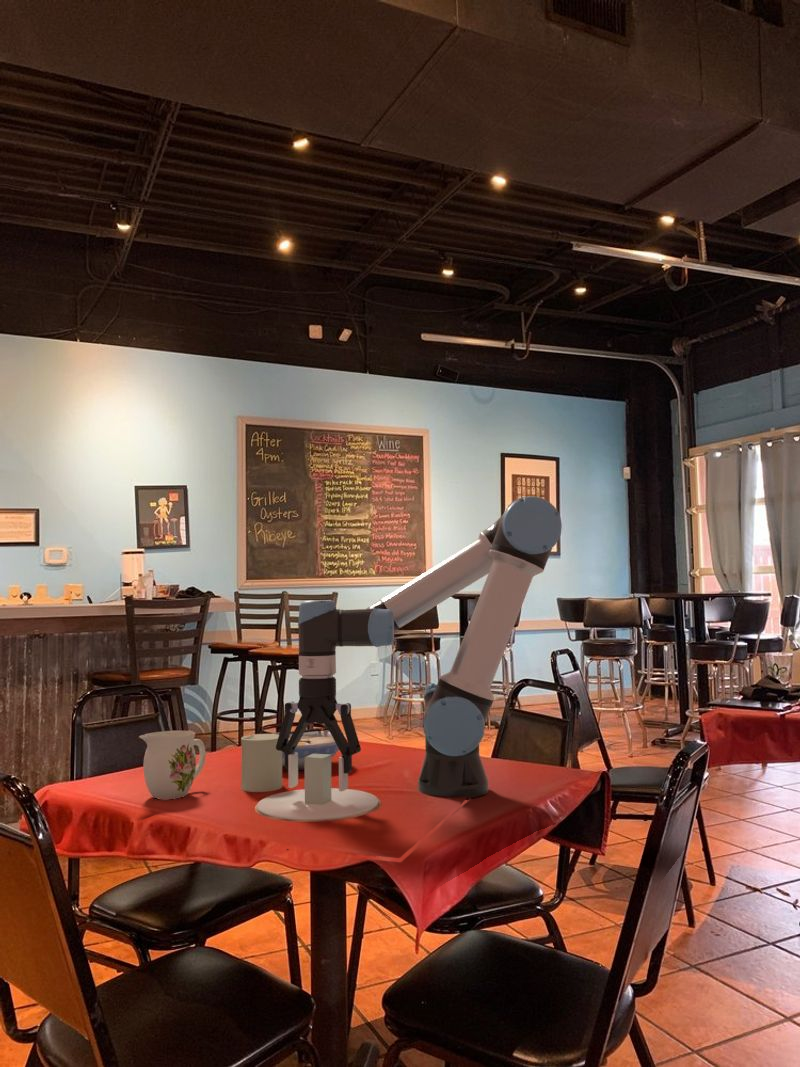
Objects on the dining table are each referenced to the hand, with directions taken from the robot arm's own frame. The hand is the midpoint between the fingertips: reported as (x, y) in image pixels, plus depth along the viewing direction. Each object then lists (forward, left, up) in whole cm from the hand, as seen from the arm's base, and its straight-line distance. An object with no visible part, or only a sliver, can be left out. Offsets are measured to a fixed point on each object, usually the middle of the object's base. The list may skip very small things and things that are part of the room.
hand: (318, 788), depth 161 cm
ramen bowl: (+22, -36, -4) cm, 42 cm away
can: (+19, -11, -4) cm, 22 cm away
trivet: (0, 0, -4) cm, 4 cm away
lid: (0, 0, -3) cm, 3 cm away
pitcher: (+35, -1, -4) cm, 35 cm away
